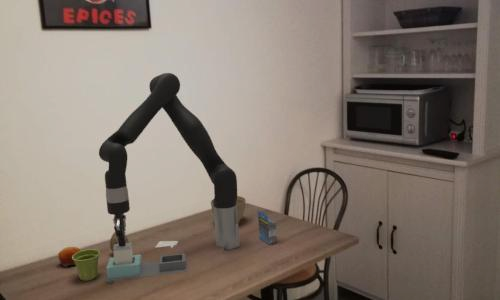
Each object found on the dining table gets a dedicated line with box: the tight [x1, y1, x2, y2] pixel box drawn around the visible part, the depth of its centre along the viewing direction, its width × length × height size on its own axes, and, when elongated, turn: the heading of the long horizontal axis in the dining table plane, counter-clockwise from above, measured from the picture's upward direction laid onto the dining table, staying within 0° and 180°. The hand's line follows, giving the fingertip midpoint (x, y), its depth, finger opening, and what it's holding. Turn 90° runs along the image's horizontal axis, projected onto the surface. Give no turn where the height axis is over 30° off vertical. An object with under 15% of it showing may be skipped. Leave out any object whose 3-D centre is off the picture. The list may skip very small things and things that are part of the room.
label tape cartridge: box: [257, 210, 277, 245], centre depth 190 cm, size 9×4×12 cm, turn 26°
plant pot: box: [72, 248, 101, 282], centre depth 164 cm, size 9×9×9 cm
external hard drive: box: [155, 240, 179, 249], centre depth 187 cm, size 2×8×12 cm
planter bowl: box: [210, 195, 246, 224], centre depth 213 cm, size 16×16×11 cm
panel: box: [105, 252, 188, 285], centre depth 167 cm, size 28×12×5 cm, turn 99°
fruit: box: [57, 246, 81, 268], centre depth 177 cm, size 8×8×8 cm
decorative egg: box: [109, 231, 129, 252], centre depth 184 cm, size 7×7×10 cm
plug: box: [112, 242, 134, 265], centre depth 165 cm, size 6×4×10 cm, turn 99°
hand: (122, 245), depth 164 cm, fingers closed
